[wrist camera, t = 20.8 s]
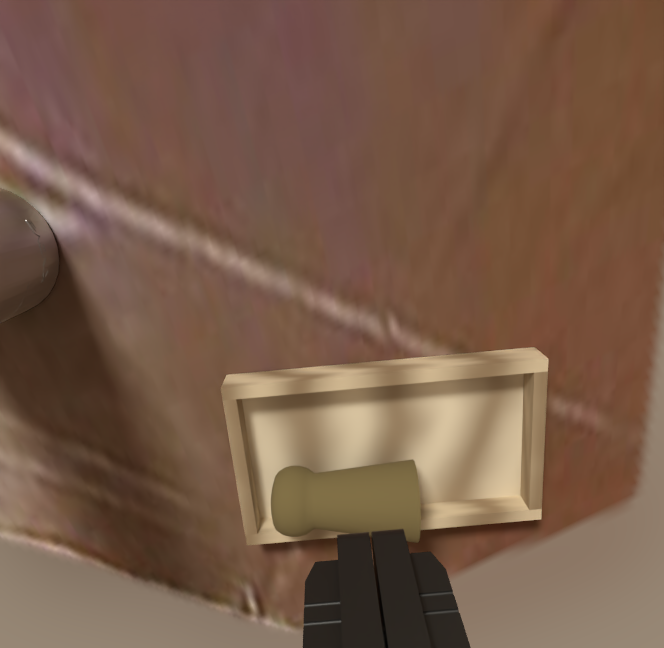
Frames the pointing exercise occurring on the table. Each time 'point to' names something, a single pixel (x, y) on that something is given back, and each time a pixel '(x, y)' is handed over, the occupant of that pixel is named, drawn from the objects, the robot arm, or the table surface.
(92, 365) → the table surface
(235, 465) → the birch tray
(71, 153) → the table surface
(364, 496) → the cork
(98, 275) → the table surface
